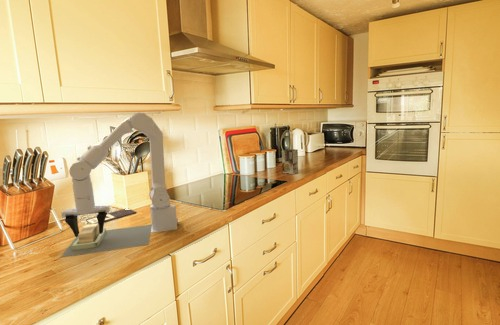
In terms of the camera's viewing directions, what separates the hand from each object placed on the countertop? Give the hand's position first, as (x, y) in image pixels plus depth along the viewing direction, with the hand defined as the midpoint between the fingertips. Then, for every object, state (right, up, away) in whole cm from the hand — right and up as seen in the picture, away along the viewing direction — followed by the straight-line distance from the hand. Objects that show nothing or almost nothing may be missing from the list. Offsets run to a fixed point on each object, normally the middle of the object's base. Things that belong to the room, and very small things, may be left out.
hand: (89, 234), depth 102 cm
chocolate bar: (-4, +1, +26) cm, 26 cm away
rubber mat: (+7, -2, +1) cm, 8 cm away
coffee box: (+83, +17, +100) cm, 131 cm away
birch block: (0, -2, 0) cm, 2 cm away
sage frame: (0, -3, +1) cm, 3 cm away
